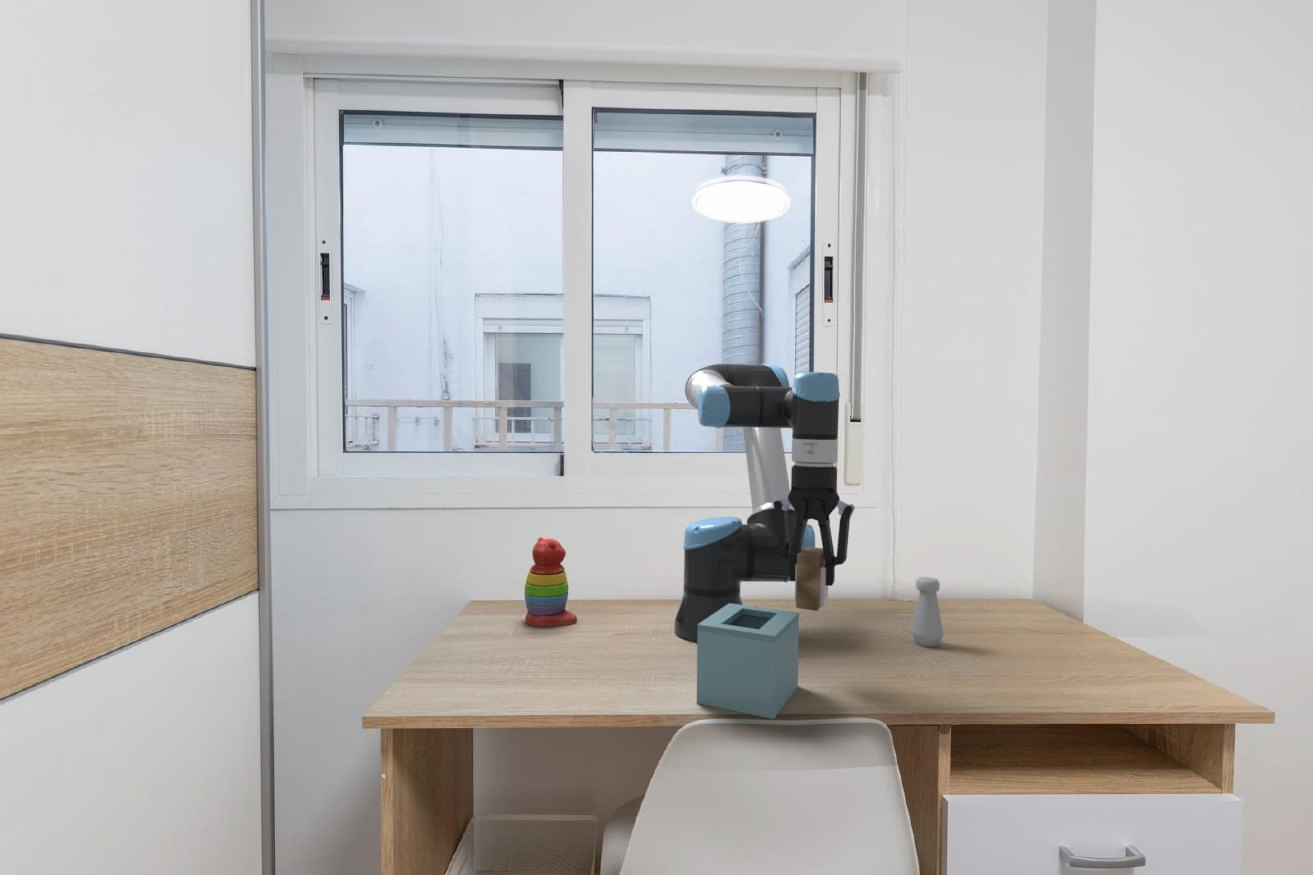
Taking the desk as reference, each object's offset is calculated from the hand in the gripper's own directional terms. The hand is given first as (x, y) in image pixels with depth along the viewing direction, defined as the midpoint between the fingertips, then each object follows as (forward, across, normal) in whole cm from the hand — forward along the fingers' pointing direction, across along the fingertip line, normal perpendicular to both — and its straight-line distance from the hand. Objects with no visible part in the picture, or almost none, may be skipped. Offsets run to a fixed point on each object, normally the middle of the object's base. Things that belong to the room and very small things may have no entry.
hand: (811, 602), depth 112 cm
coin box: (+12, -7, -13) cm, 19 cm away
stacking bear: (+14, -58, +5) cm, 60 cm away
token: (0, 0, 0) cm, 0 cm away
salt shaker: (+13, +17, +28) cm, 35 cm away
